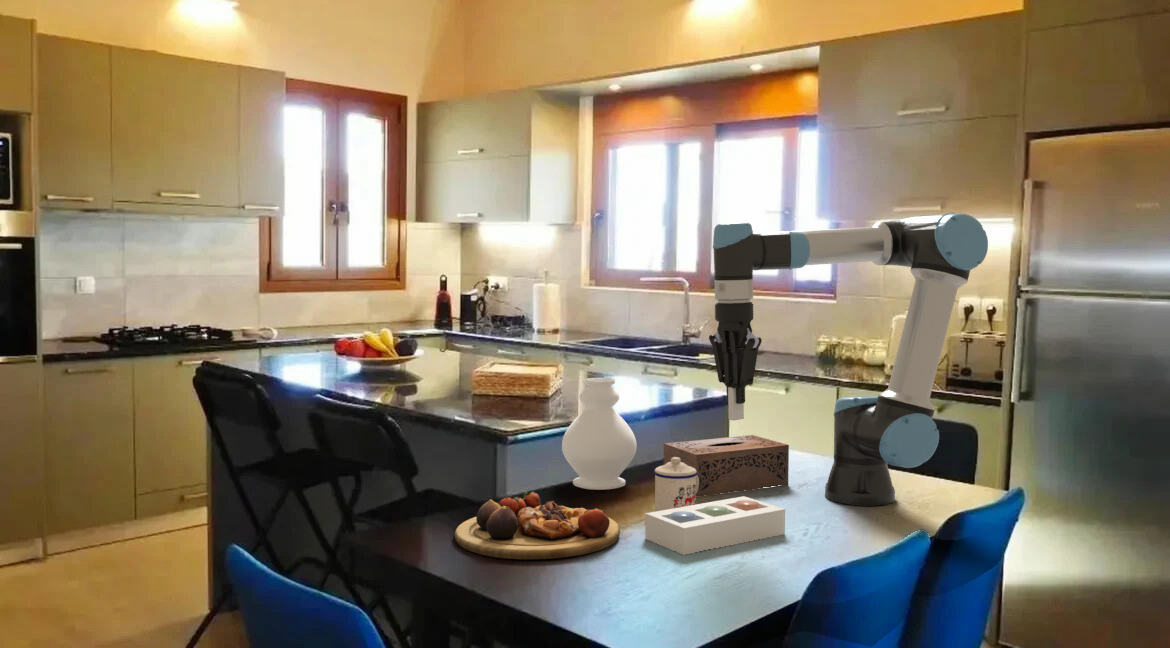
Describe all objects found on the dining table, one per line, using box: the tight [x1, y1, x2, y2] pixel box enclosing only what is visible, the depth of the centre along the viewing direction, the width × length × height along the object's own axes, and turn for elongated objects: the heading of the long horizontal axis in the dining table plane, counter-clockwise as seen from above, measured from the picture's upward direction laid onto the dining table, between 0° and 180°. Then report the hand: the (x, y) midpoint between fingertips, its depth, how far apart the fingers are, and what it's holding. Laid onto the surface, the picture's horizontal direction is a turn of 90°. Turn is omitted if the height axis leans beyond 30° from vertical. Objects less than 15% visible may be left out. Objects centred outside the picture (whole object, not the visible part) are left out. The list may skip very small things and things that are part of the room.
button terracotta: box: [735, 500, 759, 511], centre depth 192 cm, size 5×5×4 cm
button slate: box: [671, 511, 695, 523], centre depth 183 cm, size 5×5×4 cm
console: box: [644, 495, 786, 556], centre depth 188 cm, size 25×12×5 cm, turn 122°
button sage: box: [704, 506, 728, 517], centre depth 187 cm, size 5×5×4 cm
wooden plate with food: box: [454, 490, 621, 560], centre depth 188 cm, size 32×32×8 cm
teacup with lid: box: [653, 457, 699, 512], centre depth 207 cm, size 12×9×12 cm
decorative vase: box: [561, 377, 637, 491], centre depth 231 cm, size 18×18×25 cm
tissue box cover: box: [663, 434, 790, 497], centre depth 230 cm, size 26×14×10 cm, turn 116°
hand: (736, 419), depth 193 cm, fingers closed
